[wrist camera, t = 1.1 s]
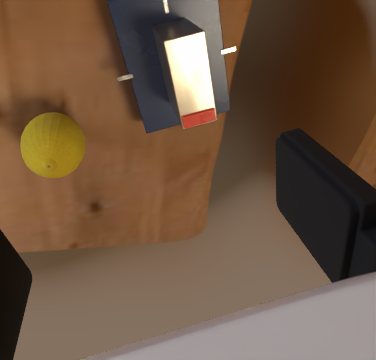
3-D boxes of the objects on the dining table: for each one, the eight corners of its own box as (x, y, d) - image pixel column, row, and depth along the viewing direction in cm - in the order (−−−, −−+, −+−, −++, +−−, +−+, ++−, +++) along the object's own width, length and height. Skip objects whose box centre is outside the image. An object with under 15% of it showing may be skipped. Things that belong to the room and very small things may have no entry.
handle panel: (93, 0, 27) (93, 5, 24) (217, -30, 28) (229, -29, 25) (133, 124, 34) (136, 137, 32) (230, 97, 35) (241, 108, 32)
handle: (151, 26, 26) (164, 41, 21) (186, 17, 27) (205, 31, 22) (169, 103, 31) (183, 131, 26) (199, 95, 31) (218, 121, 26)
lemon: (93, 112, 32) (92, 149, 26) (77, 155, 35) (73, 199, 28) (36, 91, 30) (19, 127, 24) (23, 140, 32) (5, 184, 26)
